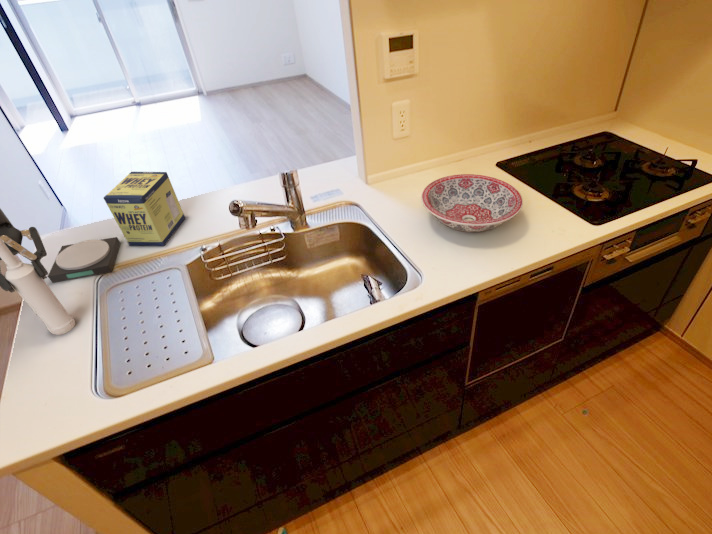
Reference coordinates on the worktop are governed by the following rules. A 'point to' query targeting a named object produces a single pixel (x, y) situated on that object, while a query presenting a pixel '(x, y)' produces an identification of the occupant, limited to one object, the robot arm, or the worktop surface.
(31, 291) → the bottle
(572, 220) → the worktop surface
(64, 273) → the scale
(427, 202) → the ceramic bowl
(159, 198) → the protein box
